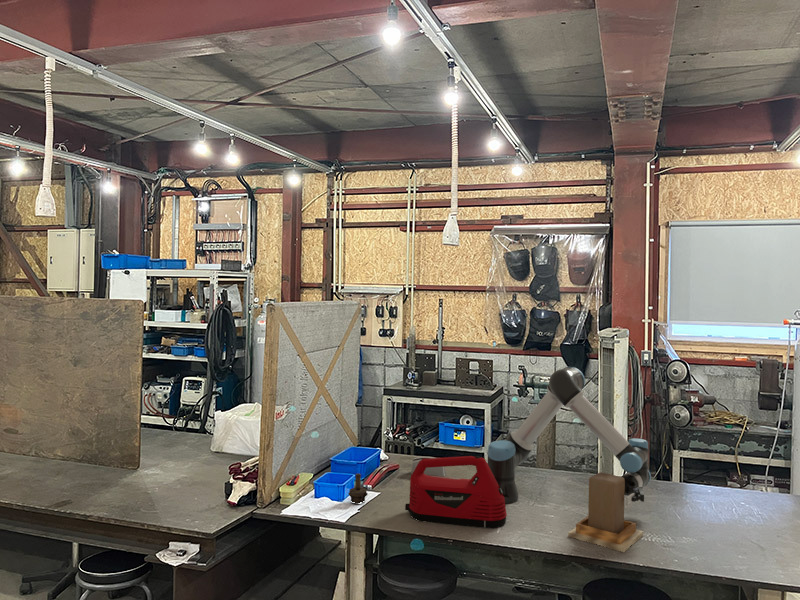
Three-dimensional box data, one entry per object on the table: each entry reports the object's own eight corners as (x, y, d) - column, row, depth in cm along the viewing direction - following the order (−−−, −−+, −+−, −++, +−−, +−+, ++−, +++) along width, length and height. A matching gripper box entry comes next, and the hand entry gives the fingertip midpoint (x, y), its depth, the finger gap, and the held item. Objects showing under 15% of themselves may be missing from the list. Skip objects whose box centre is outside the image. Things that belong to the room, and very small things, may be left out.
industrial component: (369, 501, 249) (370, 472, 249) (363, 506, 242) (364, 477, 242) (348, 498, 252) (349, 470, 252) (342, 504, 245) (342, 475, 245)
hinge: (446, 473, 291) (445, 456, 287) (445, 479, 286) (444, 461, 283) (412, 471, 294) (411, 453, 290) (410, 477, 289) (410, 459, 286)
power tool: (410, 506, 245) (411, 445, 245) (508, 516, 235) (509, 453, 235) (400, 519, 229) (401, 455, 229) (505, 531, 219) (506, 464, 219)
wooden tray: (568, 536, 216) (568, 524, 216) (590, 521, 231) (590, 509, 231) (623, 552, 203) (623, 539, 203) (643, 535, 218) (643, 523, 218)
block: (624, 531, 217) (625, 477, 217) (613, 539, 210) (615, 483, 210) (598, 524, 224) (599, 471, 224) (586, 531, 216) (587, 477, 216)
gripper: (662, 500, 225) (643, 515, 209) (598, 486, 241) (575, 499, 225) (662, 480, 225) (643, 494, 209) (598, 467, 241) (576, 479, 225)
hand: (608, 496), depth 217 cm, fingers open, 13 cm apart
